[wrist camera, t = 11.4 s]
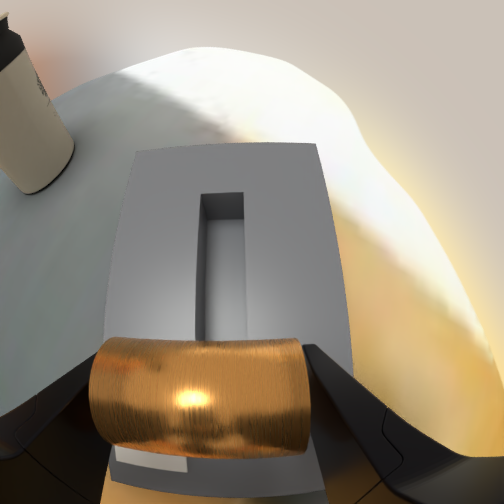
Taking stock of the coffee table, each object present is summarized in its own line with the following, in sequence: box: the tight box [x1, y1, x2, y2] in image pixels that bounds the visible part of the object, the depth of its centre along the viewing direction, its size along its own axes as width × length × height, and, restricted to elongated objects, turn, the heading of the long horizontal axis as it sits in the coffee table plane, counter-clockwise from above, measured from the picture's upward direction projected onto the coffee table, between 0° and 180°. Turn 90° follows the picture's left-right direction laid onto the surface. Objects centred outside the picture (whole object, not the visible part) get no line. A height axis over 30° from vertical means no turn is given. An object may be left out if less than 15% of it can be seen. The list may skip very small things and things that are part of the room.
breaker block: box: [103, 142, 353, 498], centre depth 14 cm, size 20×12×4 cm, turn 2°
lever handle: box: [89, 337, 311, 459], centre depth 9 cm, size 3×5×10 cm
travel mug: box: [0, 12, 74, 194], centre depth 14 cm, size 8×8×18 cm
